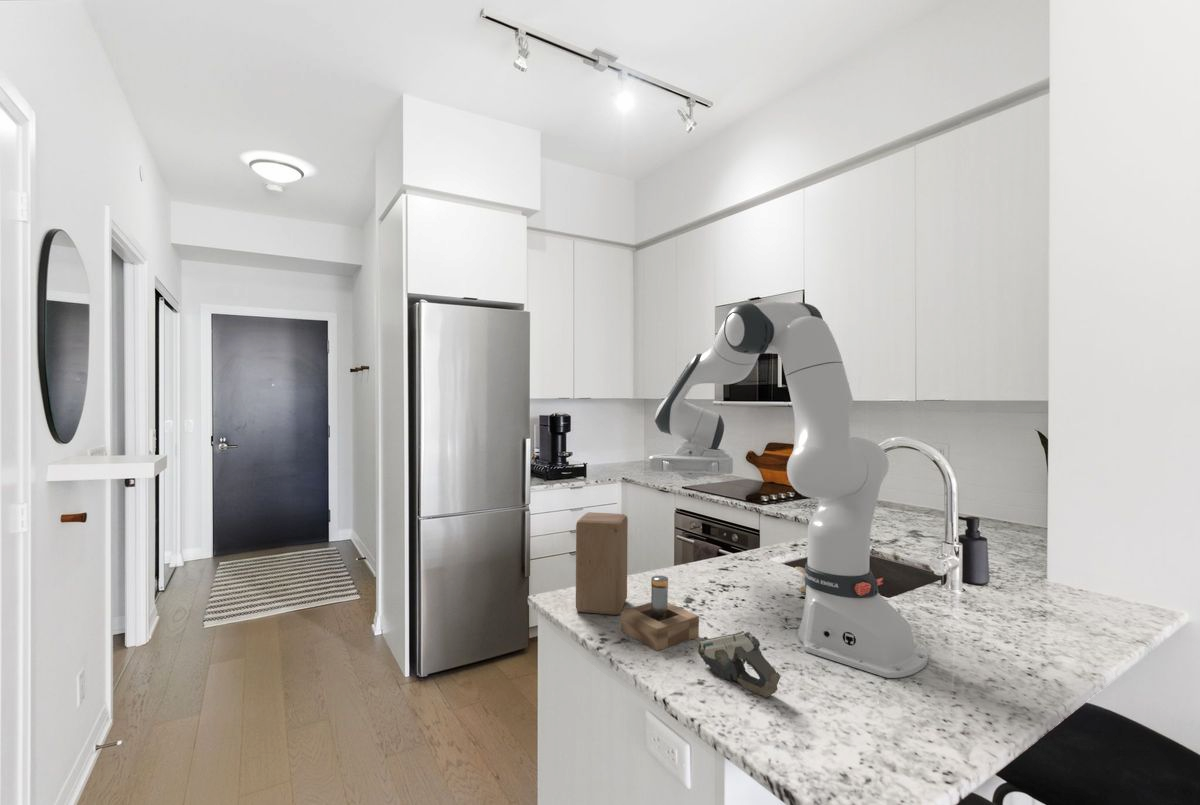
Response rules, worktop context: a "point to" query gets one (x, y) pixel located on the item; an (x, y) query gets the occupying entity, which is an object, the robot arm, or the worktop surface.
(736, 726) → the worktop surface
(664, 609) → the grey metal cylinder
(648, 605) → the bore block
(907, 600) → the worktop surface
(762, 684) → the futuristic pistol
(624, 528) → the wooden block
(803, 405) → the robot arm
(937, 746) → the worktop surface
